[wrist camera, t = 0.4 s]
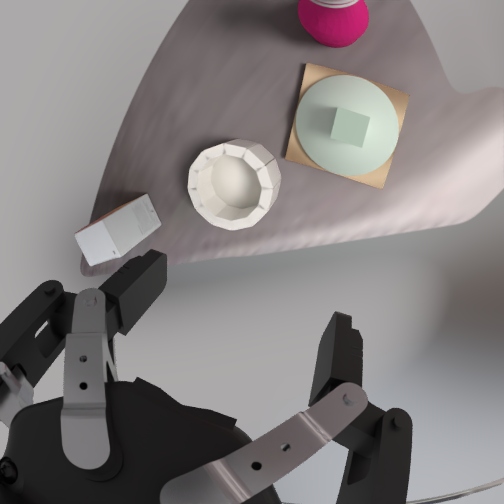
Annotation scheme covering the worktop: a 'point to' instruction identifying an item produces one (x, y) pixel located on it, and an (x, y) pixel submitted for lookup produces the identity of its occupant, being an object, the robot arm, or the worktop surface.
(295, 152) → the plate
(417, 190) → the worktop surface
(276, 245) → the worktop surface
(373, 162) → the lid
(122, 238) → the small box
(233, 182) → the bowl
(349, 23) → the pepper mill
